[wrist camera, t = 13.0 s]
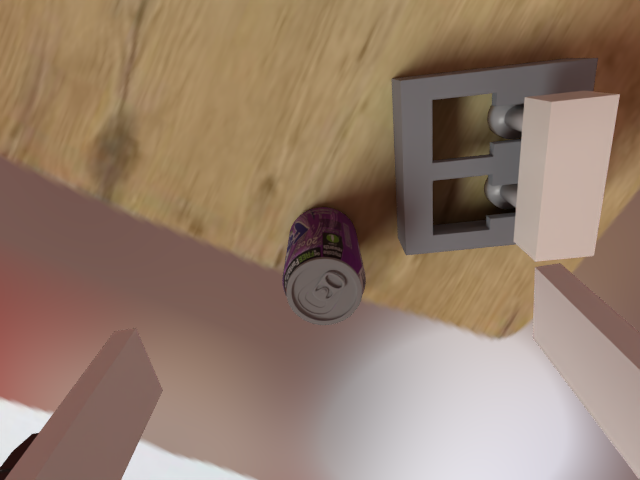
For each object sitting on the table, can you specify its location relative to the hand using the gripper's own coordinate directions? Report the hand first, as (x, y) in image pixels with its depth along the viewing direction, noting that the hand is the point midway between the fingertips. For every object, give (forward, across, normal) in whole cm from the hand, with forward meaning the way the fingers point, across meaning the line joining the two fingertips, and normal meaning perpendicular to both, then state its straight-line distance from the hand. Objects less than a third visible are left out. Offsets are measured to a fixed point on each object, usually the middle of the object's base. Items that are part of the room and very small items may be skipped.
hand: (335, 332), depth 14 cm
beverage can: (+30, -2, -9) cm, 31 cm away
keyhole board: (+30, +15, -3) cm, 34 cm away
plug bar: (+30, +18, -4) cm, 35 cm away
